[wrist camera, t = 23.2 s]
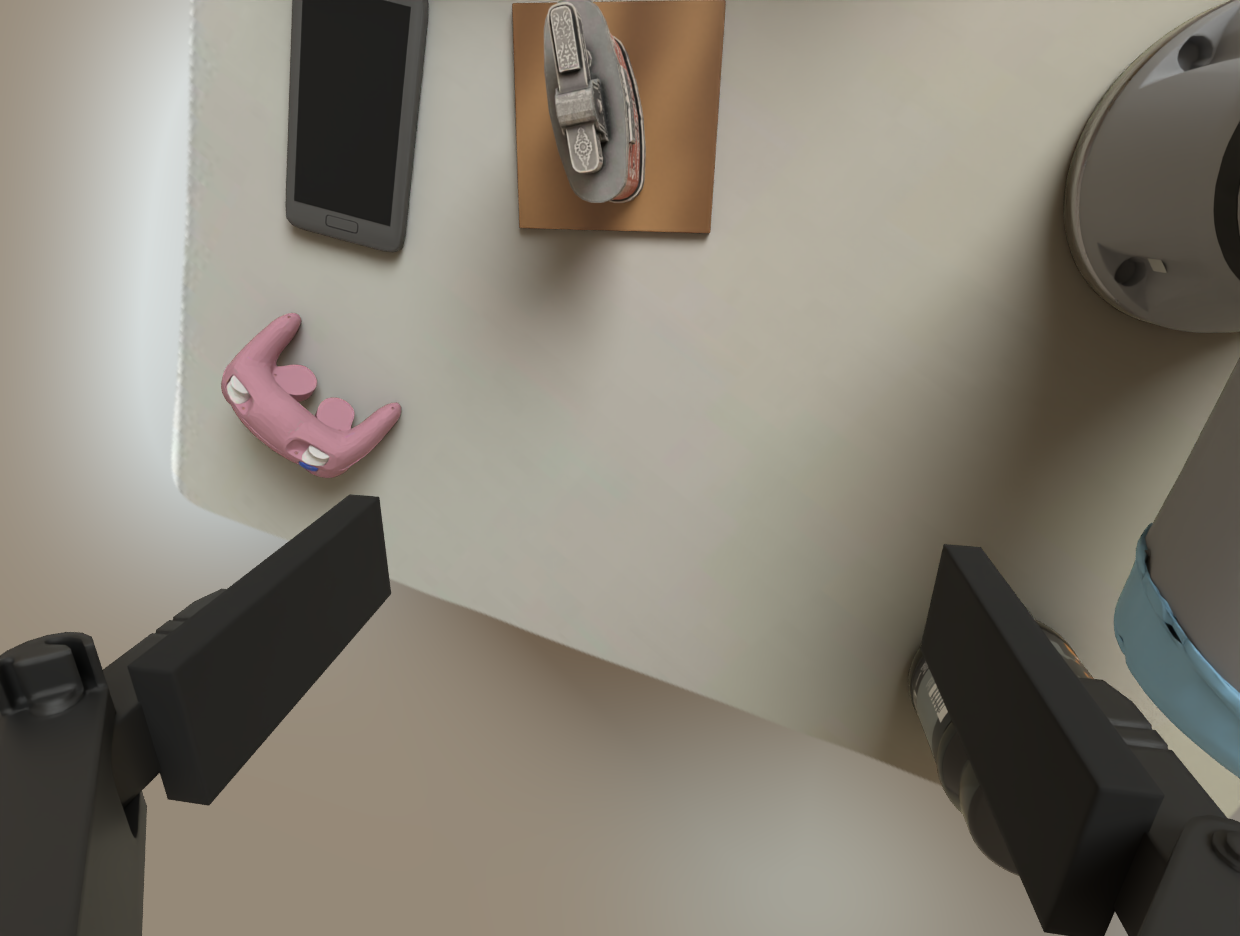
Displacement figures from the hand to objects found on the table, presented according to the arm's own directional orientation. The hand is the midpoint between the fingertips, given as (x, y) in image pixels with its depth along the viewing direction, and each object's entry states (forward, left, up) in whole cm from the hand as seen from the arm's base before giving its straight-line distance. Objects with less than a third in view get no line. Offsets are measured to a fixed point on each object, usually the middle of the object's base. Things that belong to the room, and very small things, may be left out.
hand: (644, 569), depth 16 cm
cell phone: (+20, -12, -27) cm, 36 cm away
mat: (+5, -12, -27) cm, 30 cm away
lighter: (+5, -12, -26) cm, 29 cm away
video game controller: (+24, +4, -27) cm, 36 cm away
